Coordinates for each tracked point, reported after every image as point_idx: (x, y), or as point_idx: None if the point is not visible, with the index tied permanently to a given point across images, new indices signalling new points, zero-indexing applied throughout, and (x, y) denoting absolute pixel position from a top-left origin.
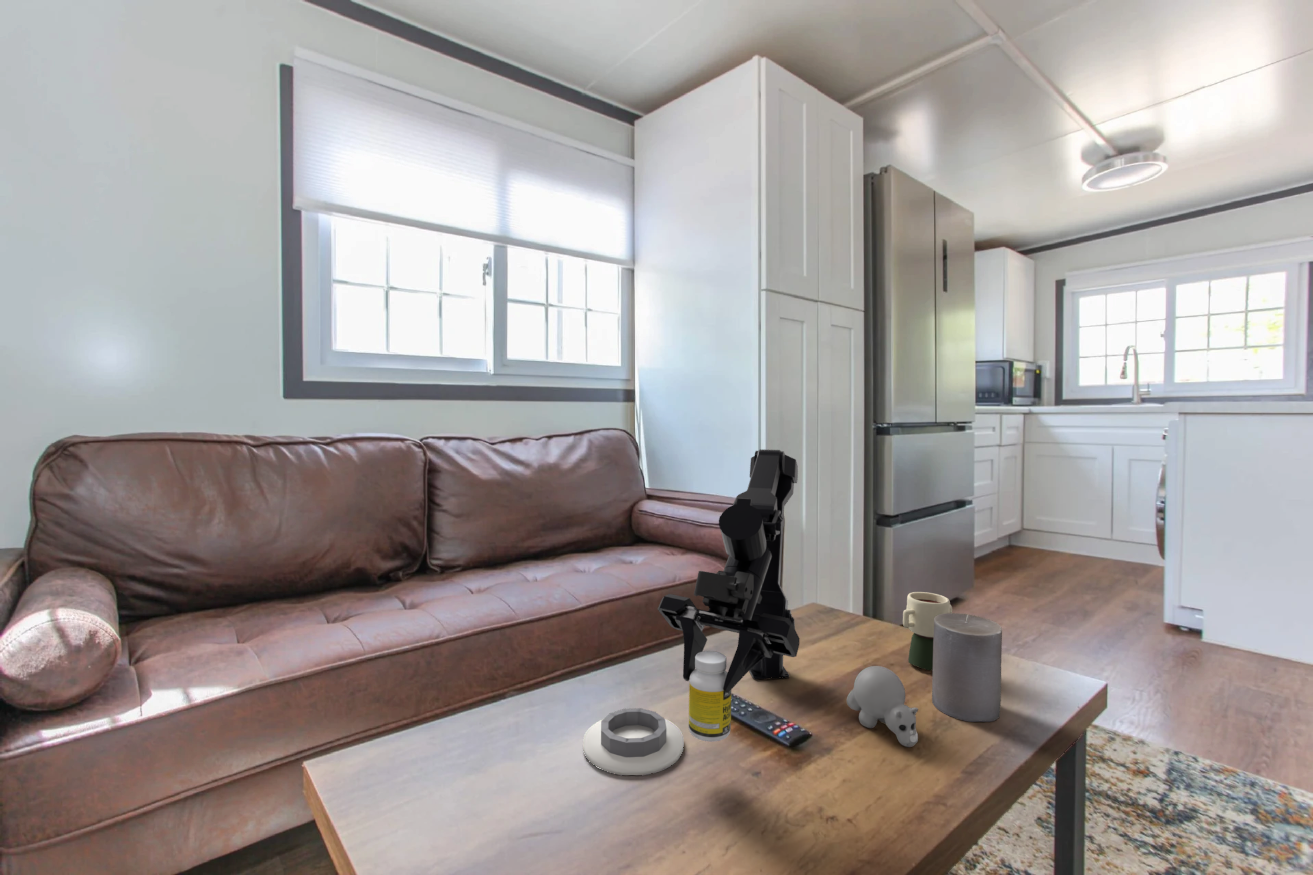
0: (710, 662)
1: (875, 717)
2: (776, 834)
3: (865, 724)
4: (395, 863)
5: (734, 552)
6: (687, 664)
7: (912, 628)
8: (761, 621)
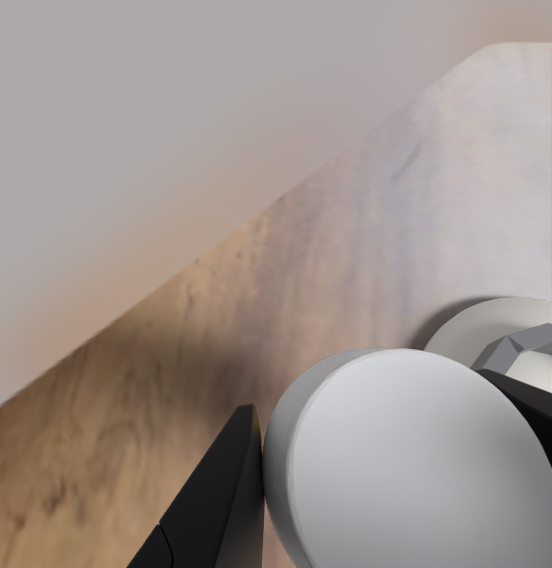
0: (343, 378)
1: None
2: (136, 379)
3: None
4: (468, 60)
5: None
6: (529, 400)
7: None
8: None
